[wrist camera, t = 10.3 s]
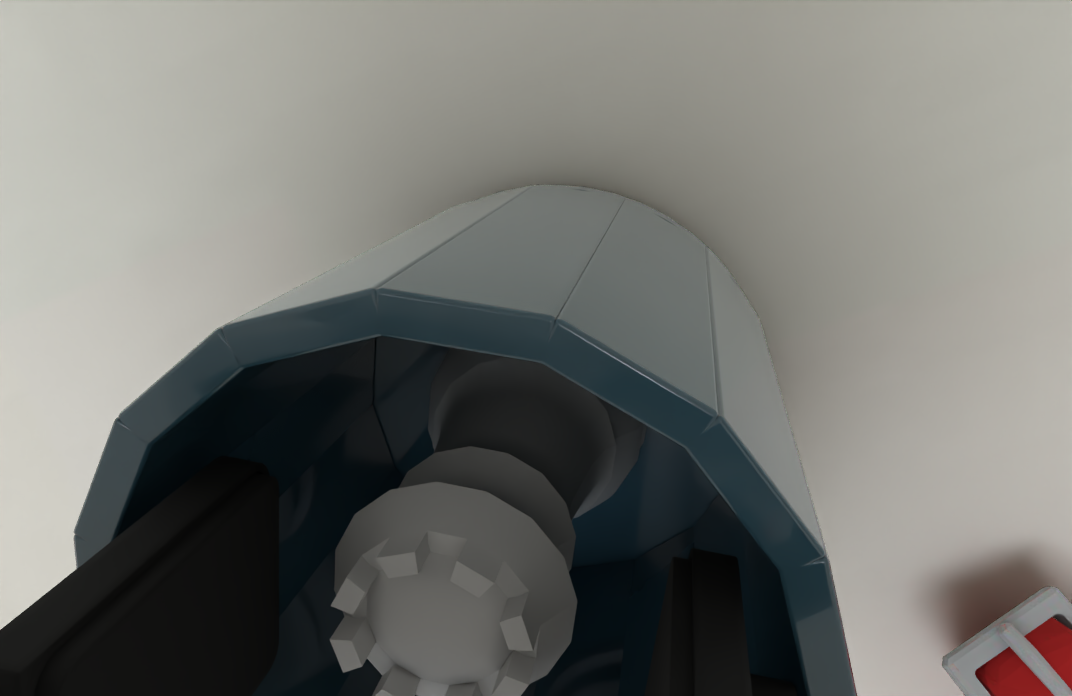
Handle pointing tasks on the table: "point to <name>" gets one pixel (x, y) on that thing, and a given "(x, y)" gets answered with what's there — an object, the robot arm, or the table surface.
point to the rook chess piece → (480, 533)
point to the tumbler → (525, 334)
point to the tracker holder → (1019, 651)
